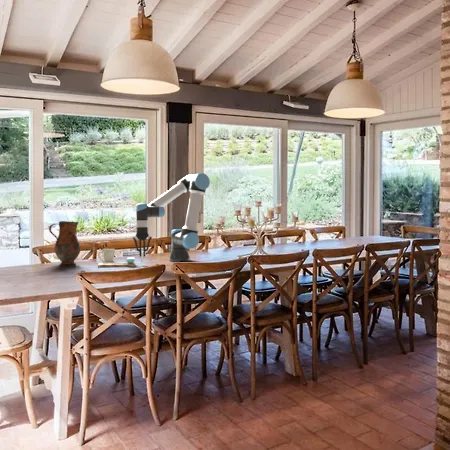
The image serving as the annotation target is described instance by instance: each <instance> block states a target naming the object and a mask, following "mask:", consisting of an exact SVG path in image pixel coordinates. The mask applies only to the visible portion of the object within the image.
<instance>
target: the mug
mask: <svg viewBox="0 0 450 450" xmlns="http://www.w3.org/2000/svg"><path fill="white" fill-rule="evenodd" d="M115 250H116V249H115V248H102V251H101V250H100V251H99V252H98V253H97V258H98V260H100V261H101V262H103V263H114V260H115ZM101 254H102V256H103V257H102V258H101V257H100V255H101Z"/></svg>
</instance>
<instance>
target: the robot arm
mask: <svg viewBox="0 0 450 450" xmlns="http://www.w3.org/2000/svg"><path fill="white" fill-rule="evenodd" d="M210 184H211V181H210V177H209V176H208V175H207V173H204V172H192V173H189V174H187V175H185V176H184V177H182V178H181V179H179V180H178V181H177V184H175V185H173V186H172V187H171V188H169V190H167V191H166V192H164V193H162V194H161V195H160V196H158V197H157V198H156V199H154V200H153V201H151V202H150V203H137V204H136V207H135V209H136V210H135V212H136V214H135V216H136V234H135V235H134V236H132V239H133V242H134V245H135V249H136V252H138V253H139V257H140V259H141V262H145V259H144V258H145V257H146V252H148V250H149V247H150V242H151V240H152V239H153V238H152V236H150V235H149V234H150V233H149V227H148V225H149V222H148V221H149V218H163V217H164V216H165V213H166V210H165V209H166V208H165V207H166V205H168V204H170V203H171V202H172V201H174V200H175V199H177V198H178V197H179V196H180V195H182V194H183V193H187V192H190V196H189V199H188V206H187V211H186V216H185V223H184V226H182V228H179V229H172V230H171V233H170V234H171V235H170V237H171V238H170V239H171V244H170V245H171V246H170V247H171V251H170V254H169V257H168V260H169V262H174V263H181V262H180V261H183V263H185V262H189V261H191V258H190V253H189V251H188V249H189V250H190V249H195V248H196V247H197V246H198V245H199V242H200V236H199V235H198V233H199V230H198V229H197V227H198V222H199V217H200V212H201V211H200V210H201V206H202V200H203V195H204V194H206V191H207V189H208V188H209V186H210ZM137 239H138V241H139V243H138V242H137ZM147 239H148V241H147V245H146V240H147ZM142 242H143V244H142ZM142 246H143V247H142ZM142 248H143V251H142Z"/></svg>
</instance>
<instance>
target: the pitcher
mask: <svg viewBox="0 0 450 450" xmlns="http://www.w3.org/2000/svg"><path fill="white" fill-rule="evenodd" d="M78 224H79V222H78V221H66V220H64V221H63V220H61V221H58V227H59V228H58V229H59V231H58V235H56V234H55V233H53V232H52V228H53V226H55V225H56V223H51V224H50V226H49V227H48V231H49V233H50V234H51V235H52V236H53V237H55V239H56V241H55V243H54V254H55V255H56V257H57V259H58V260H60V261H61V263H59V266H60V267H71V266H76V265H77V263H76V262H75V260H76V259H78V257H79V255H80V253H81V244H80V241H79V239H78V235H77V228H78Z"/></svg>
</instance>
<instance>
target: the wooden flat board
mask: <svg viewBox="0 0 450 450" xmlns="http://www.w3.org/2000/svg"><path fill="white" fill-rule="evenodd" d="M122 267H123V268H124V267H125V268H127V267H129V268H130V267H132V268H133V267H136V262H135V261H134V264H128V262H111V263H105V262H99V263H97V269H100V268H122Z"/></svg>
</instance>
